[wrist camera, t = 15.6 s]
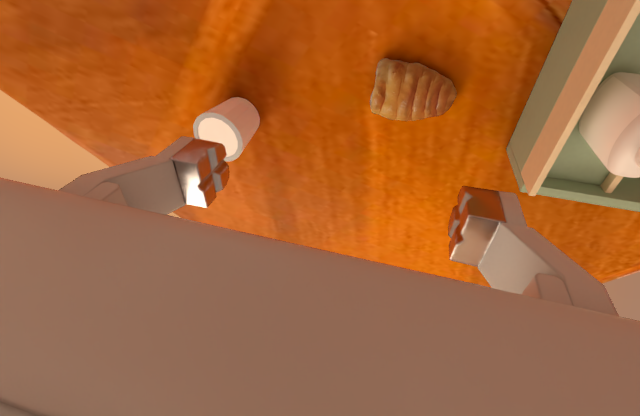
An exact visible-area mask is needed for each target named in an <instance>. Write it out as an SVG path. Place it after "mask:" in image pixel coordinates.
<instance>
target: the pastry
mask: <svg viewBox="0 0 640 416" xmlns="http://www.w3.org/2000/svg"><path fill="white" fill-rule="evenodd" d="M456 95H457V91H456V89H455V87H454V85H453V83H452V81H451V80H450V79H448V78H446V77H444V76H443V75H440V74H439V73H438V72H437V71H435V70H432V69H429V68H427V67H426V66H424V65H422V64H420V63H408V62H403V61H399V60H390V59H388V58H384V59H381V60H380V61H379V62H378V66H377V70H376V81H375V86H374V89H373V92H372V94H371V100H370V106H371V111H372V113H374V114H378V115H381V116H382V117H386V118H387V119H390V120H402V121H410V120H411V121H415V120H418V119H419V120H421V119H424V118H428V117H434V116H439V115H442V114H444V113H445V112H446V111H447V110H448V109H449V108H450V107H451V105H452V104H453V102H454V99H455V98H456Z"/></svg>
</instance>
